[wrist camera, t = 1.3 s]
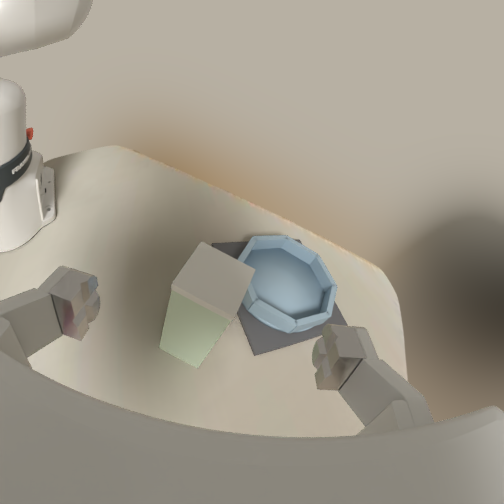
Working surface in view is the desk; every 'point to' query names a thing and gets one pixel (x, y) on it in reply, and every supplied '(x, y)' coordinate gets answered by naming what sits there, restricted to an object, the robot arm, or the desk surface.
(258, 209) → the desk surface
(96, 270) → the desk surface
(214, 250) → the tea tin
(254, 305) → the bowl
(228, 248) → the mat
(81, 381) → the desk surface
